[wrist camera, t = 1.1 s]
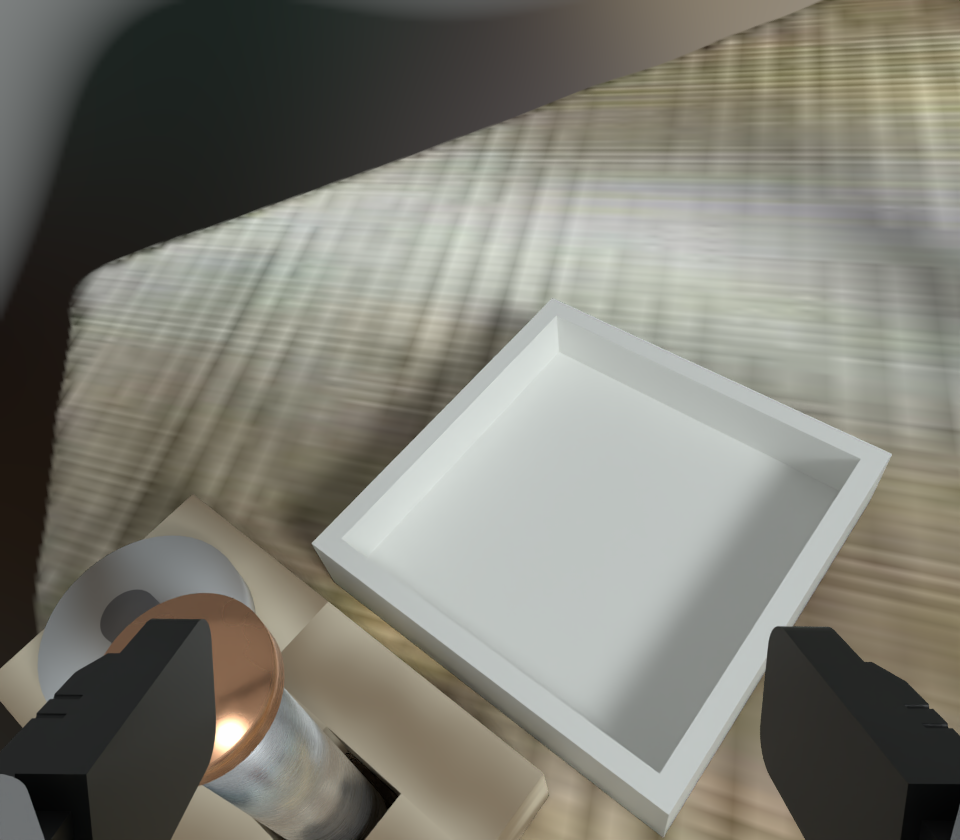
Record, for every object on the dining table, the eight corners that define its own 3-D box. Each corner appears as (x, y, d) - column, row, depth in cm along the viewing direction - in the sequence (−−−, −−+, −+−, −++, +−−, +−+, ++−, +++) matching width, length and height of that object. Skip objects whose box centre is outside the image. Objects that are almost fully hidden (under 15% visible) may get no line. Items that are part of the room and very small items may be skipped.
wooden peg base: (219, 528, 44) (169, 462, 39) (549, 795, 34) (538, 752, 29) (29, 708, 39) (-56, 658, 34) (348, 1083, 29) (294, 1091, 24)
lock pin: (348, 740, 36) (195, 561, 23) (428, 812, 34) (310, 660, 21) (269, 834, 34) (51, 698, 21) (348, 917, 32) (161, 824, 19)
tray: (556, 346, 49) (552, 297, 46) (869, 500, 40) (892, 453, 37) (334, 581, 41) (311, 543, 38) (663, 837, 32) (668, 814, 29)
